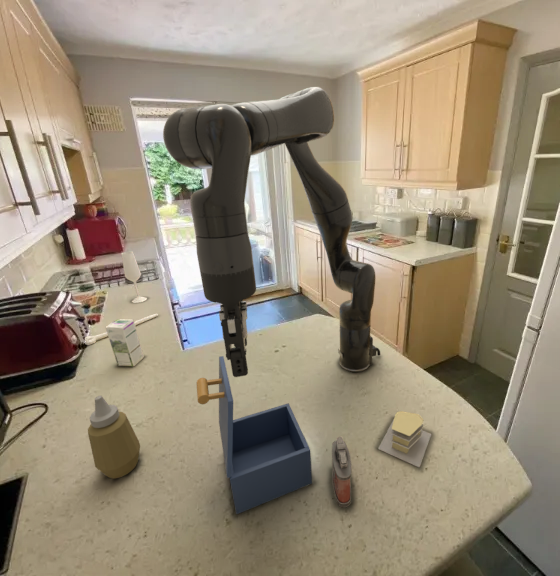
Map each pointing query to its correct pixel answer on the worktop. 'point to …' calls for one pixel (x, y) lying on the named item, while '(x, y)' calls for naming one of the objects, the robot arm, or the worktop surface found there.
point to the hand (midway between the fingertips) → (240, 359)
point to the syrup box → (125, 342)
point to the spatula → (93, 339)
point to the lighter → (341, 472)
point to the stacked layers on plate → (406, 438)
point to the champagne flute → (132, 272)
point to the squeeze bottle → (112, 440)
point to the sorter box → (268, 457)
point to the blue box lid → (221, 409)
